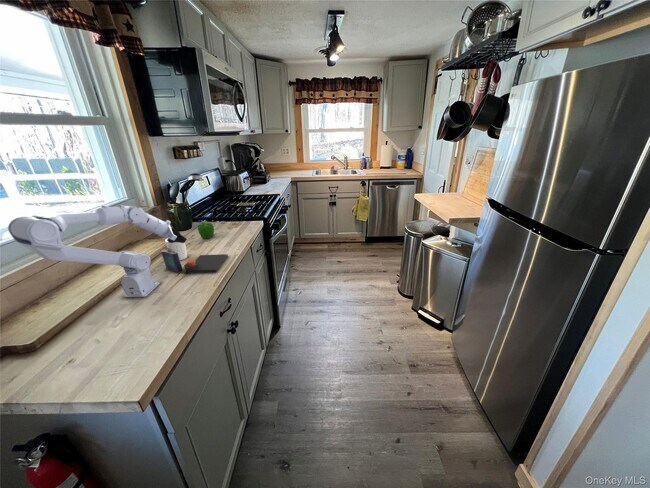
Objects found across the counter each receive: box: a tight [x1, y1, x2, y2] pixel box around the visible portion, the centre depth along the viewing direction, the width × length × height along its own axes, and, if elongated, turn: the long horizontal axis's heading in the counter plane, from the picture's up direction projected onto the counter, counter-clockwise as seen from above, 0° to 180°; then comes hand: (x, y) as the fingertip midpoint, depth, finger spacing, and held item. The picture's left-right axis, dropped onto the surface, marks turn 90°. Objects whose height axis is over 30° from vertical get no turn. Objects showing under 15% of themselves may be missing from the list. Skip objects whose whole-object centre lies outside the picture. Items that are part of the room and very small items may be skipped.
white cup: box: [164, 238, 188, 261], centre depth 122 cm, size 8×8×10 cm
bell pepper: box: [197, 220, 215, 240], centre depth 146 cm, size 8×8×10 cm
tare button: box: [186, 259, 196, 266], centre depth 111 cm, size 3×3×2 cm
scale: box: [183, 253, 229, 274], centre depth 116 cm, size 16×14×3 cm
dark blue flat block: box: [160, 247, 184, 273], centre depth 111 cm, size 9×3×11 cm, turn 65°
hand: (180, 236), depth 112 cm, fingers open, 7 cm apart
